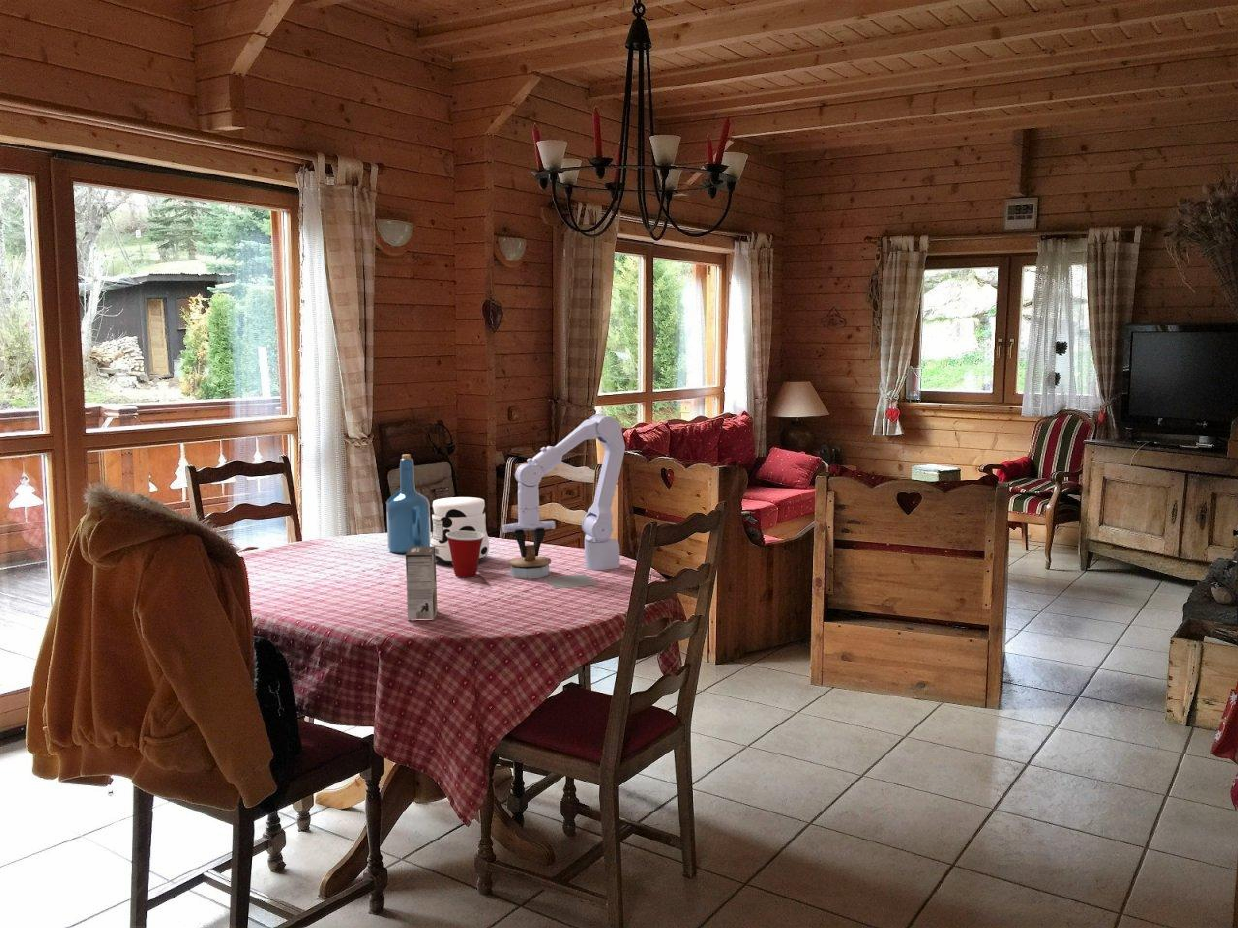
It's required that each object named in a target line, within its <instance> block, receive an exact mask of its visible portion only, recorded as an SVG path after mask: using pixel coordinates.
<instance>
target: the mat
mask: <svg viewBox="0 0 1238 928" xmlns="http://www.w3.org/2000/svg"><path fill="white" fill-rule="evenodd" d="M542 578H543V580H544V581H546V582H547V583H548V584H549V585H551V586H552V587H553V588H554V589H565V588H566V589H568V588H575V587H576V588H577V587H588V586H589V587H590V586H597V585H600V584H599V582H597V581H595V580H594V579H592V577H590V576H588V575H587V574H574V575H563V576H562V575H561V576H553V577H552V576H551V577H550V576H549V577H542Z"/></svg>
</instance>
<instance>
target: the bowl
mask: <svg viewBox="0 0 1238 928" xmlns="http://www.w3.org/2000/svg"><path fill="white" fill-rule="evenodd" d="M509 569H510V570H509V571H510V575H511V576H512V577H513V578H517V579H518V578H520V579H535V578H537V579H538V578H544V577H546V576H547V575H550V564H548V565H543V566H535V567H517V566H511V565H509Z"/></svg>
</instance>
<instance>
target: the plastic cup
mask: <svg viewBox="0 0 1238 928" xmlns="http://www.w3.org/2000/svg"><path fill="white" fill-rule="evenodd" d="M446 536H447V539H448V544H449V548H450V553H451V559H452V564H451V565H452V566H453V573H454V575H455V577H457V578H472V577H475V576H476V575H477V571H478V565H479V561H480V560H479V554H480V547H481V543H482V540H483V538H484V537H485V535H484V534H483V533H480V532H475V531H465V530H460V531H450V532H447V533H446ZM478 560H479V561H478Z"/></svg>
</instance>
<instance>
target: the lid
mask: <svg viewBox="0 0 1238 928" xmlns="http://www.w3.org/2000/svg"><path fill="white" fill-rule="evenodd" d="M525 551H526V557H522V556H521V557H520V556H519V557H515V558H511V559H509V560H508V565H509V566H510V565H511V566H517V567H535V566H543V565H548V564H549V565H550V564H551V563H552V558H550V557H546V556H535V545H534V544H528V545H527V544H525Z"/></svg>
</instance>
